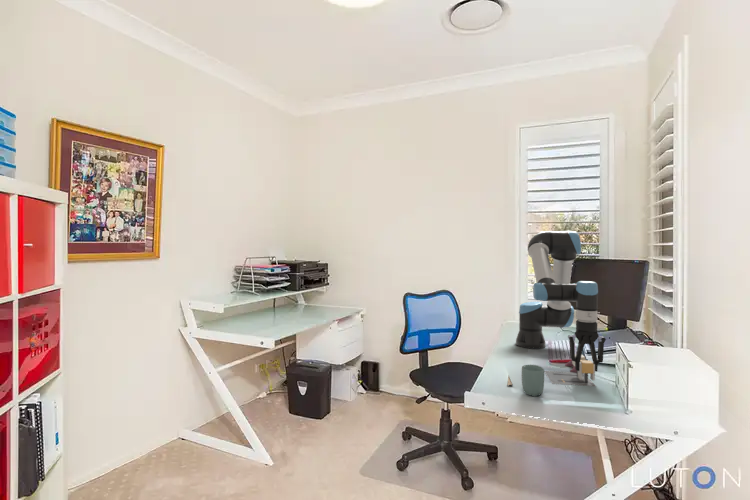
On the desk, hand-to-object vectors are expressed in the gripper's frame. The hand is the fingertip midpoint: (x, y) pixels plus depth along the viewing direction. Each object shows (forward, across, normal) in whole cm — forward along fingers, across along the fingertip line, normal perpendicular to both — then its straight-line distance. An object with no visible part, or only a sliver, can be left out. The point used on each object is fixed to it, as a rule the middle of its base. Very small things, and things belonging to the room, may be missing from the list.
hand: (586, 378), depth 160 cm
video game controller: (+3, 0, +17) cm, 17 cm away
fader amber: (+1, 0, 0) cm, 1 cm away
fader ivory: (+1, 0, +8) cm, 8 cm away
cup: (+3, -22, -13) cm, 26 cm away
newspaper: (+4, -25, +5) cm, 26 cm away
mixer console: (+3, -6, +4) cm, 7 cm away
